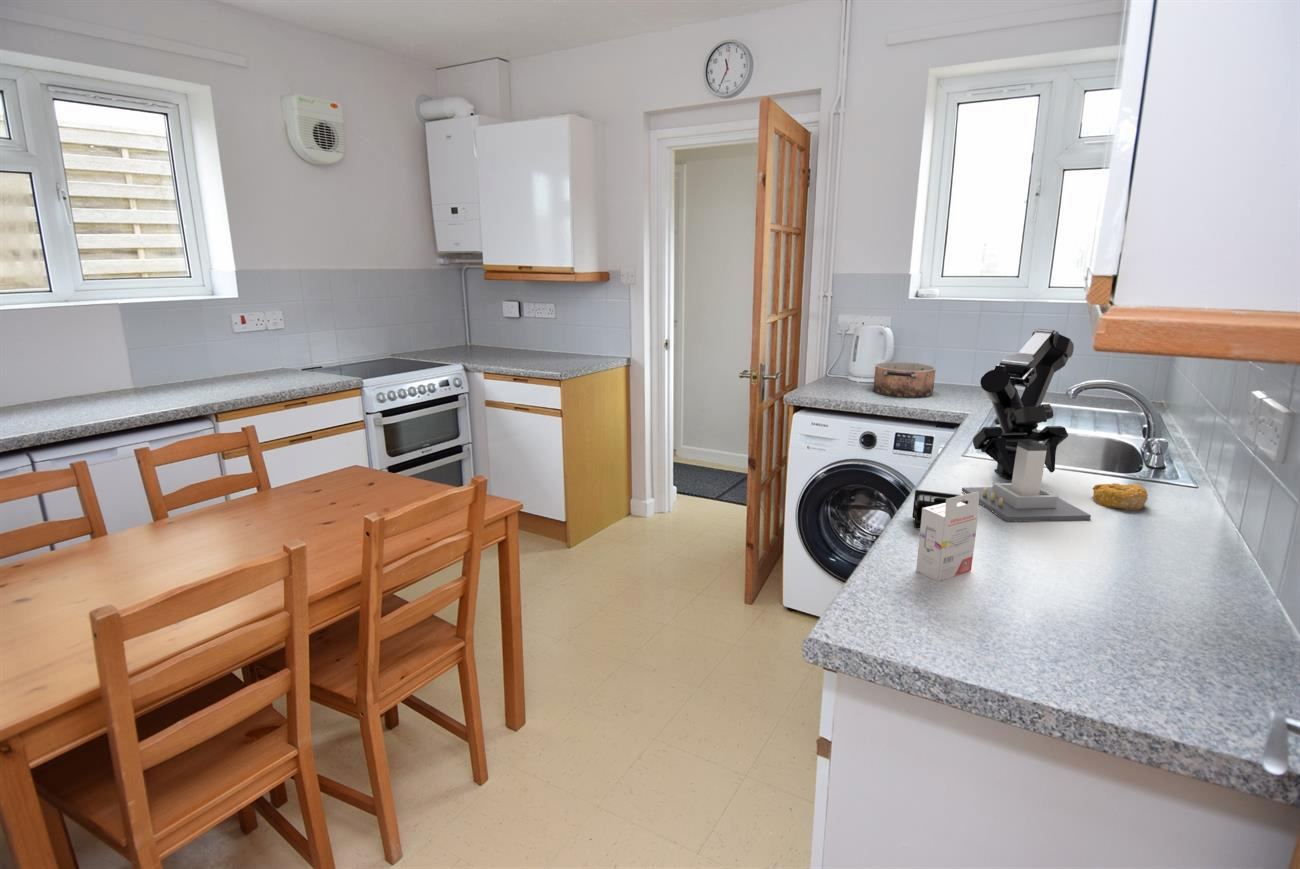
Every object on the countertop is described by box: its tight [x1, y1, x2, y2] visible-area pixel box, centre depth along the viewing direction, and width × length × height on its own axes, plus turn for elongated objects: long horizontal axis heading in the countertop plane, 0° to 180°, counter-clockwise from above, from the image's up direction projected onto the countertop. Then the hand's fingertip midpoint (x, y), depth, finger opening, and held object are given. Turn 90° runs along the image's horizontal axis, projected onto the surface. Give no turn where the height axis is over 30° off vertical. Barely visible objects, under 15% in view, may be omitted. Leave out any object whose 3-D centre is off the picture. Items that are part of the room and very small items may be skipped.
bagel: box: [1092, 482, 1148, 511], centre depth 148 cm, size 10×11×5 cm
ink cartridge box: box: [915, 492, 980, 582], centre depth 114 cm, size 9×5×15 cm, turn 117°
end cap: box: [912, 489, 968, 529], centre depth 135 cm, size 10×7×7 cm
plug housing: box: [1010, 441, 1047, 496], centre depth 145 cm, size 4×4×13 cm
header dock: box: [961, 482, 1092, 522], centre depth 147 cm, size 18×18×4 cm
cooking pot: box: [873, 361, 937, 399], centre depth 266 cm, size 30×22×11 cm
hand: (1031, 472), depth 144 cm, fingers open, 9 cm apart
